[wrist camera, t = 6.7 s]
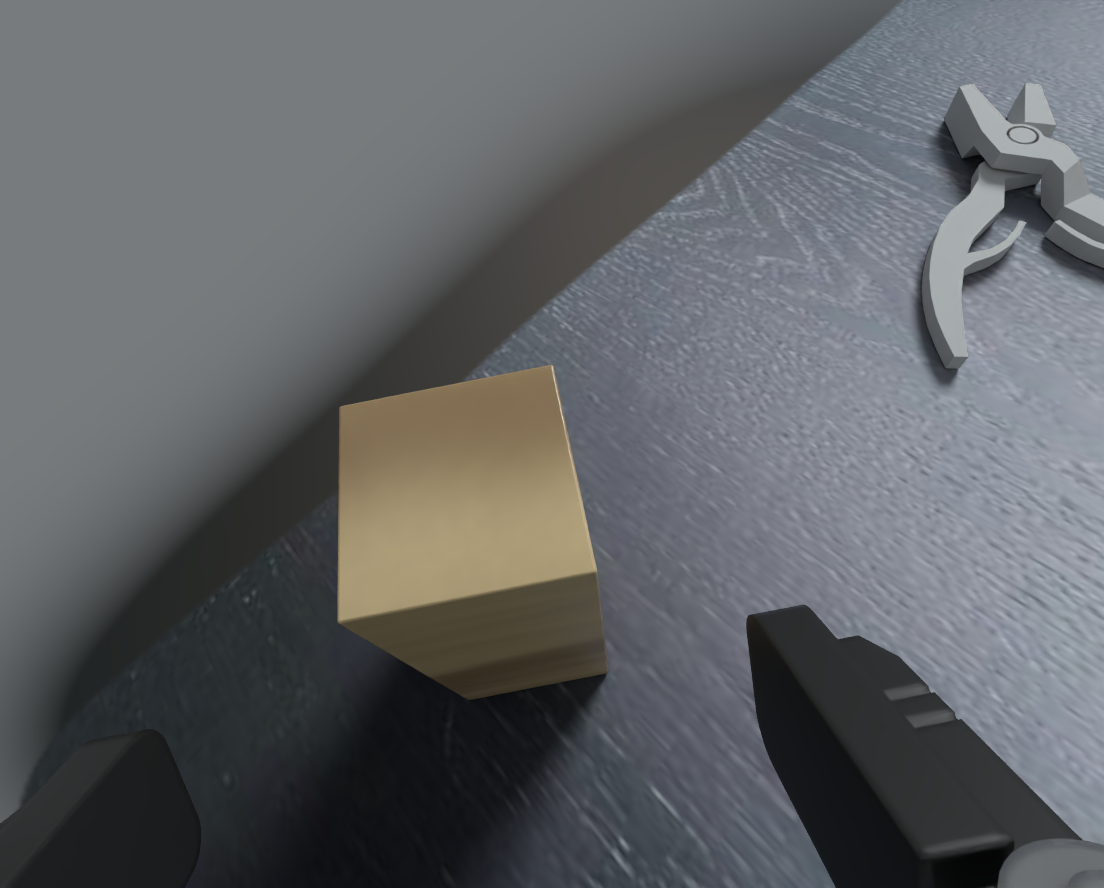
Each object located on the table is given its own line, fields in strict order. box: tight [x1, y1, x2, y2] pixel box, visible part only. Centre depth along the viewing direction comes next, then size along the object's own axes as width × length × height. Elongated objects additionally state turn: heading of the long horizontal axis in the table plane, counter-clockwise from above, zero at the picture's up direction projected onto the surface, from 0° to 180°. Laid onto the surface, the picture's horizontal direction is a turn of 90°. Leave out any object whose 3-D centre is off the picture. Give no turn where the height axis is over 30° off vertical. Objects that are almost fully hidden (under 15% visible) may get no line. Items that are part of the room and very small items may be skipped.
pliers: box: [922, 83, 1104, 368], centre depth 25 cm, size 10×2×15 cm
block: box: [337, 365, 608, 700], centre depth 16 cm, size 4×4×10 cm
